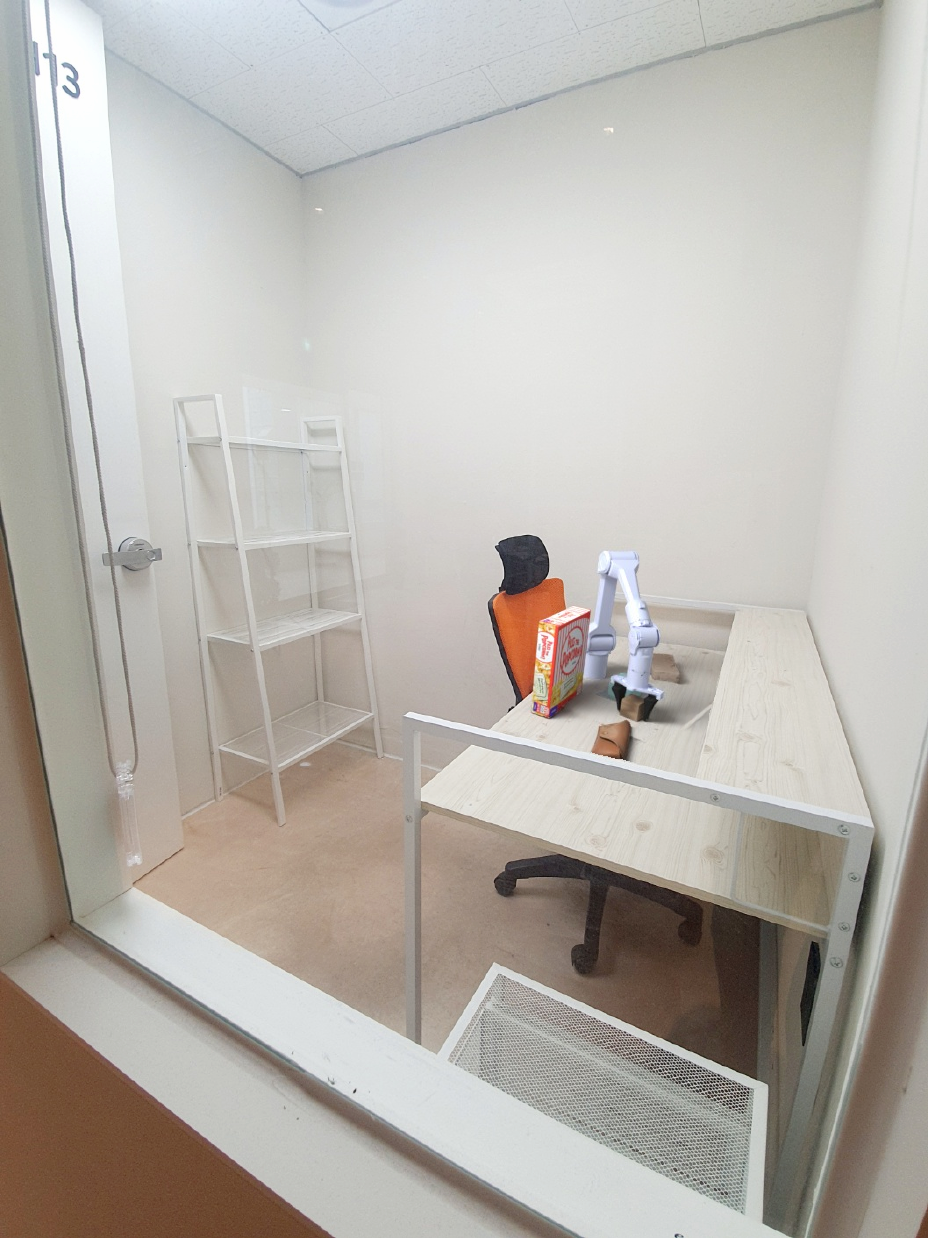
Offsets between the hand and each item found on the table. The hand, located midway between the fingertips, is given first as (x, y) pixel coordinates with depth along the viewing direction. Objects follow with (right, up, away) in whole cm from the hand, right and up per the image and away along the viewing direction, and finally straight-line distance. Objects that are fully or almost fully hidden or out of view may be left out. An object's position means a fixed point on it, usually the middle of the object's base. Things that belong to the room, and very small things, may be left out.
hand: (632, 714), depth 147 cm
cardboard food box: (-19, +2, +8) cm, 21 cm away
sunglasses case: (-10, -6, -12) cm, 17 cm away
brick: (+19, +8, +30) cm, 37 cm away
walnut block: (0, -1, 0) cm, 2 cm away
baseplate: (+1, +3, +12) cm, 13 cm away
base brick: (+1, +4, +12) cm, 13 cm away
